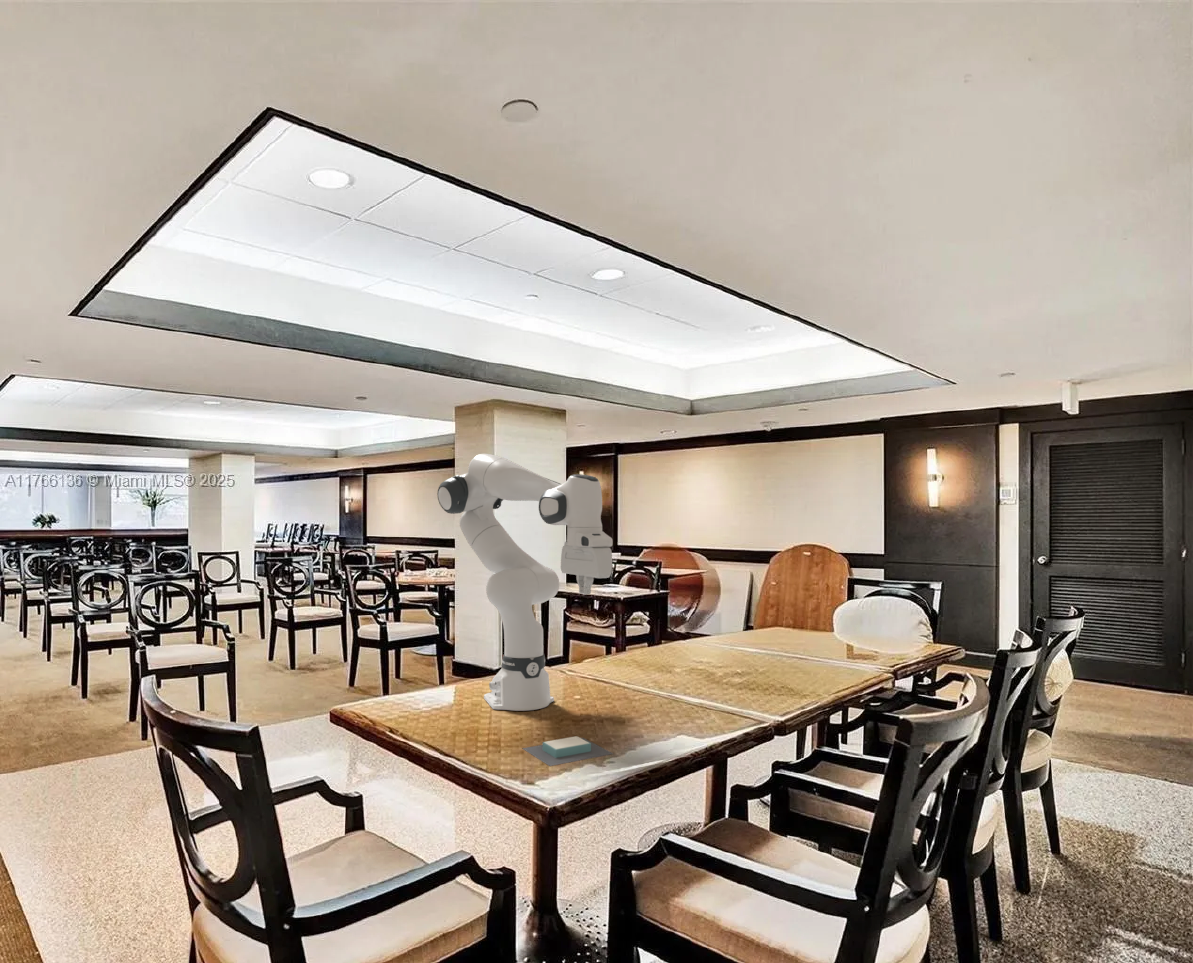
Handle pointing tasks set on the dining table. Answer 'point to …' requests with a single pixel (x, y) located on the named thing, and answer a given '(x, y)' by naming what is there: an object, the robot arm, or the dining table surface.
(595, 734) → the dining table surface
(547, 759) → the mat
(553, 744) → the box
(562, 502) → the robot arm
